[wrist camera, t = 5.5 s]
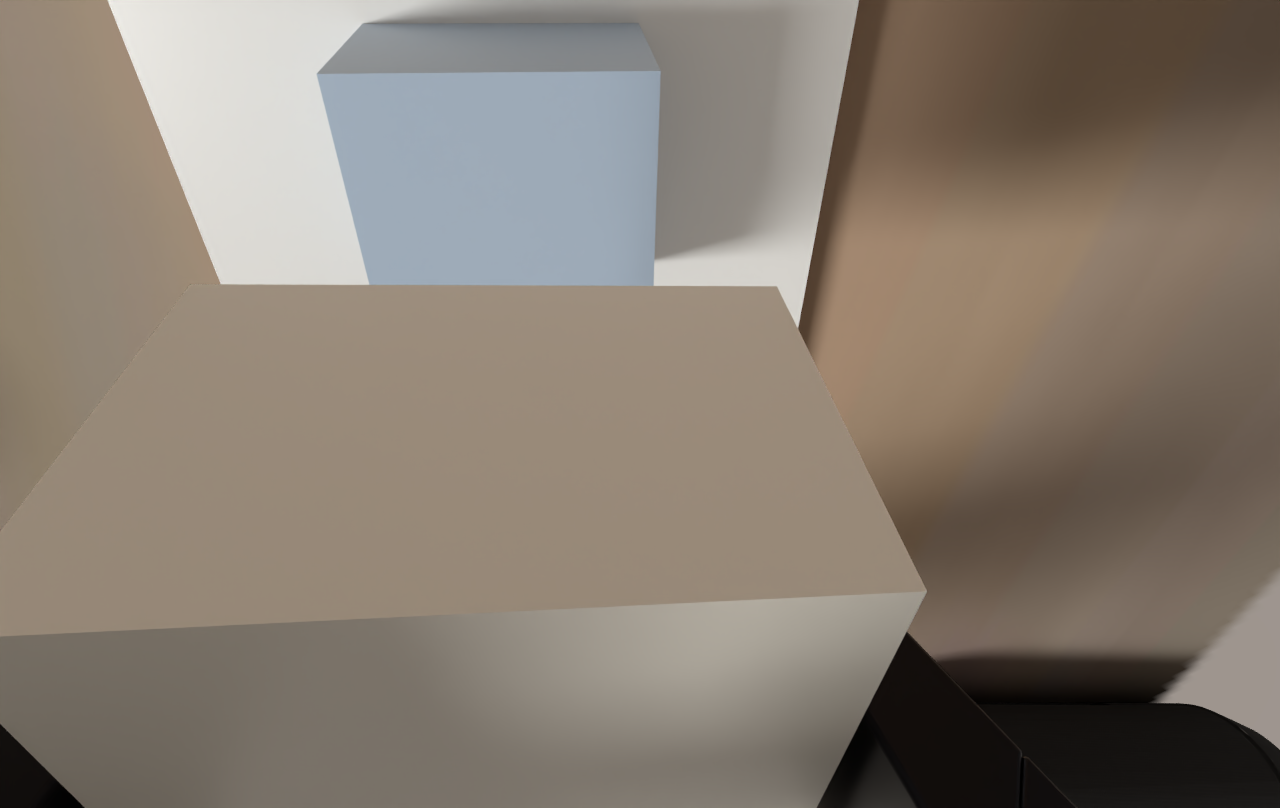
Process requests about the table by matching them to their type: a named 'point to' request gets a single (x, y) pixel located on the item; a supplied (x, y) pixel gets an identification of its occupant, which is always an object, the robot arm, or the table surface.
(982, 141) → the table surface
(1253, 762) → the portable speaker
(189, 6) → the base plate
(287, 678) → the middle block
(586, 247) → the base block
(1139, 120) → the table surface
